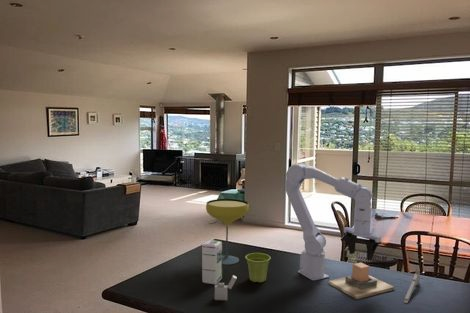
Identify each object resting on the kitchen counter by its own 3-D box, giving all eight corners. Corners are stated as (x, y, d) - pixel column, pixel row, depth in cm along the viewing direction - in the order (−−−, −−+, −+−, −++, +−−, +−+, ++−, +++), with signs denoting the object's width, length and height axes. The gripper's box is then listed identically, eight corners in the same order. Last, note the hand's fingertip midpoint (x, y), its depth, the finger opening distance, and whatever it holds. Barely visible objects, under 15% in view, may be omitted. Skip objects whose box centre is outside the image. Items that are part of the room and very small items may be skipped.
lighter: (214, 299, 121) (214, 276, 120) (215, 297, 122) (215, 274, 122) (236, 300, 120) (236, 276, 120) (236, 298, 122) (236, 274, 122)
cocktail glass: (228, 250, 170) (228, 197, 168) (256, 261, 157) (257, 203, 155) (196, 259, 158) (197, 202, 156) (224, 271, 145) (225, 209, 143)
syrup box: (216, 284, 132) (217, 245, 131) (201, 282, 134) (202, 243, 133) (222, 278, 138) (222, 241, 137) (207, 276, 140) (208, 239, 139)
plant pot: (256, 286, 131) (257, 263, 131) (239, 278, 138) (240, 256, 138) (275, 280, 137) (275, 257, 136) (258, 272, 144) (258, 251, 144)
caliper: (416, 283, 137) (416, 267, 137) (419, 284, 137) (420, 267, 136) (403, 303, 121) (404, 284, 120) (407, 304, 120) (408, 285, 120)
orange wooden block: (351, 282, 134) (352, 264, 133) (359, 280, 135) (360, 262, 135) (360, 287, 130) (361, 267, 129) (368, 285, 132) (369, 266, 131)
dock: (328, 283, 135) (328, 275, 135) (364, 275, 143) (364, 268, 143) (356, 299, 123) (357, 290, 122) (394, 289, 131) (394, 281, 130)
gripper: (339, 217, 137) (337, 252, 138) (373, 225, 125) (371, 264, 126) (351, 214, 141) (349, 249, 142) (385, 223, 129) (383, 260, 130)
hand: (360, 256), depth 134 cm, fingers open, 7 cm apart
